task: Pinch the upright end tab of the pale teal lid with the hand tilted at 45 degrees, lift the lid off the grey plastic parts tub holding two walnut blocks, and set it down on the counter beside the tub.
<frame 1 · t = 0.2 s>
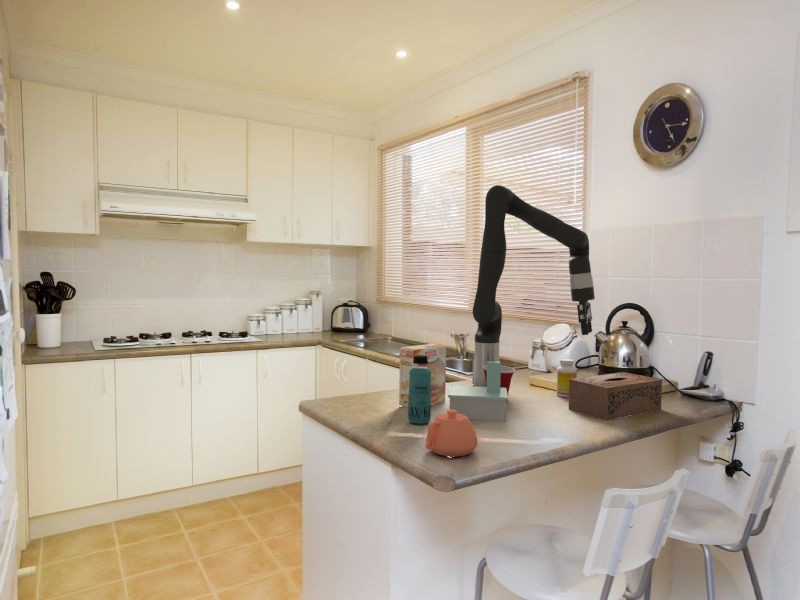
hand: (587, 333, 181), 23 cm above the worktop, tool pointing down, fingers open, 8 cm apart
coffeecake box: (422, 406, 171), on the worktop
walnut block b: (486, 413, 159), point 1 cm above the worktop, touching tub
beverage bottle: (419, 426, 149), on the worktop
supplement bottle: (566, 396, 186), on the worktop
tissue box cover: (614, 411, 168), on the worktop
plastic cup: (498, 402, 176), on the worktop
lid: (478, 393, 158), point 7 cm above the worktop, touching tub
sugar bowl: (448, 453, 127), on the worktop
walnut block a: (465, 415, 157), point 1 cm above the worktop, touching tub
tub: (477, 416, 158), on the worktop
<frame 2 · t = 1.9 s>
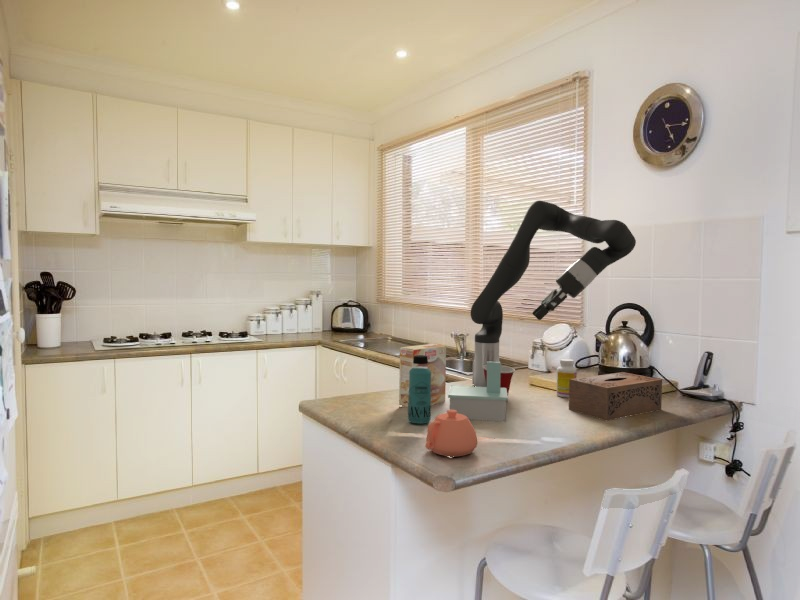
hand: (535, 316, 156), 30 cm above the worktop, tool tilted 45°, fingers open, 8 cm apart
nothing on the worktop moved.
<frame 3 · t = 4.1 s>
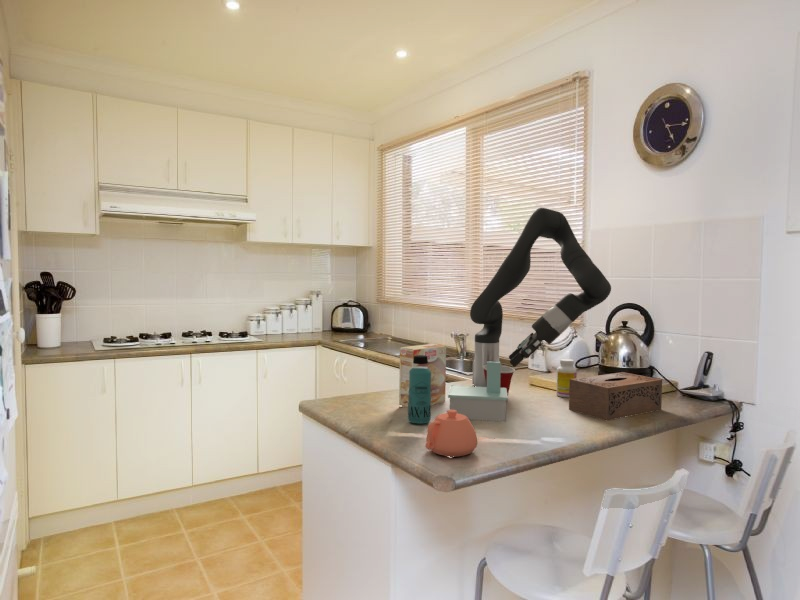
hand: (511, 362, 156), 17 cm above the worktop, tool tilted 45°, fingers open, 8 cm apart
nothing on the worktop moved.
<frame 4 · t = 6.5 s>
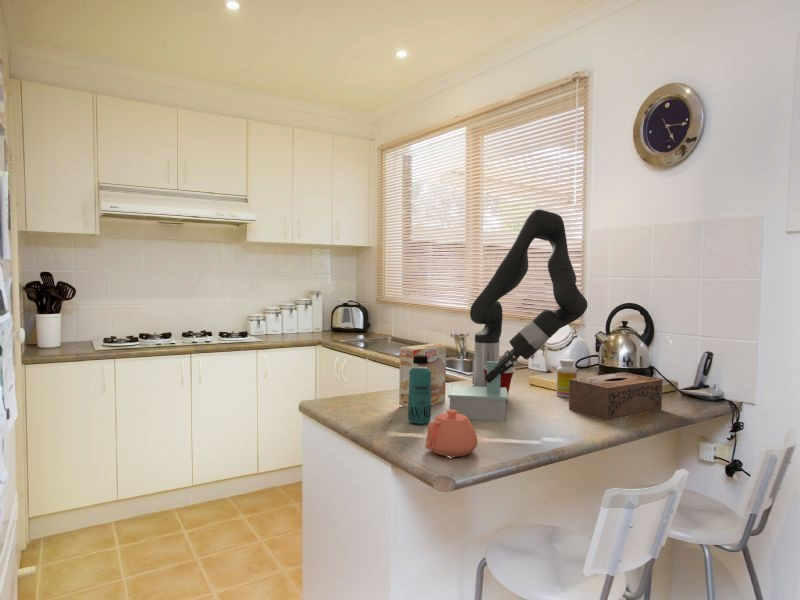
hand: (486, 379, 157), 11 cm above the worktop, tool tilted 45°, fingers closed on lid
lid: (478, 393, 158), point 7 cm above the worktop, touching gripper, tub
everything else where it was.
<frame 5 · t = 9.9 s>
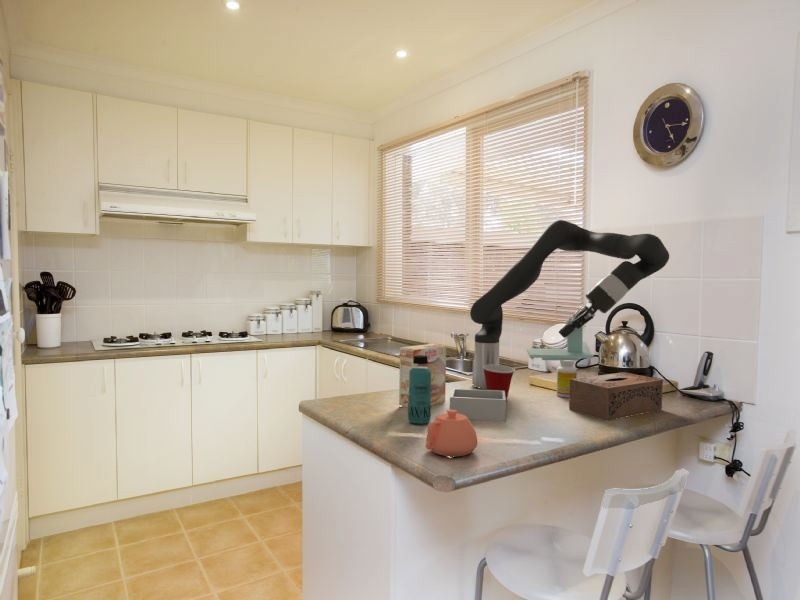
hand: (561, 335, 152), 25 cm above the worktop, tool tilted 45°, fingers closed on lid
lid: (558, 354, 152), point 20 cm above the worktop, touching gripper
everything else where it was.
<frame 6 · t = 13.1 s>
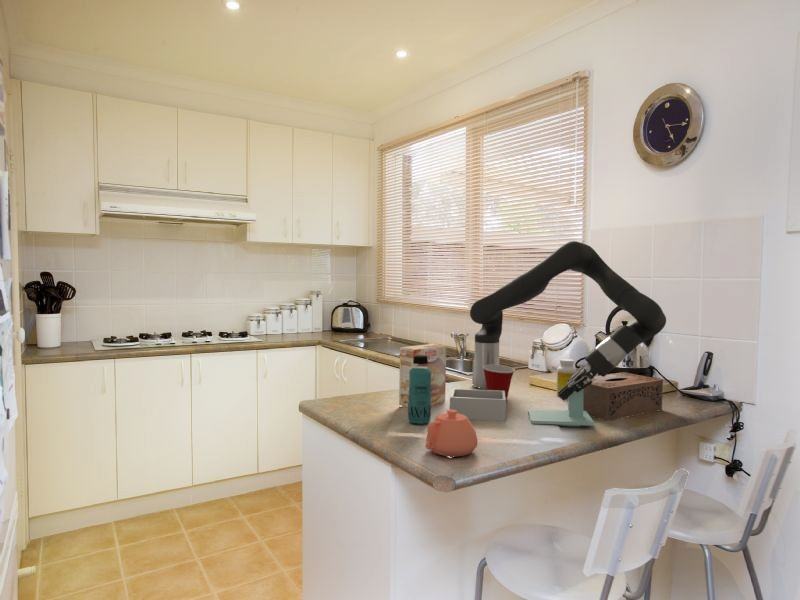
hand: (560, 397, 153), 7 cm above the worktop, tool tilted 45°, fingers closed on lid
lid: (559, 418, 153), point 1 cm above the worktop, touching gripper
everything else where it was.
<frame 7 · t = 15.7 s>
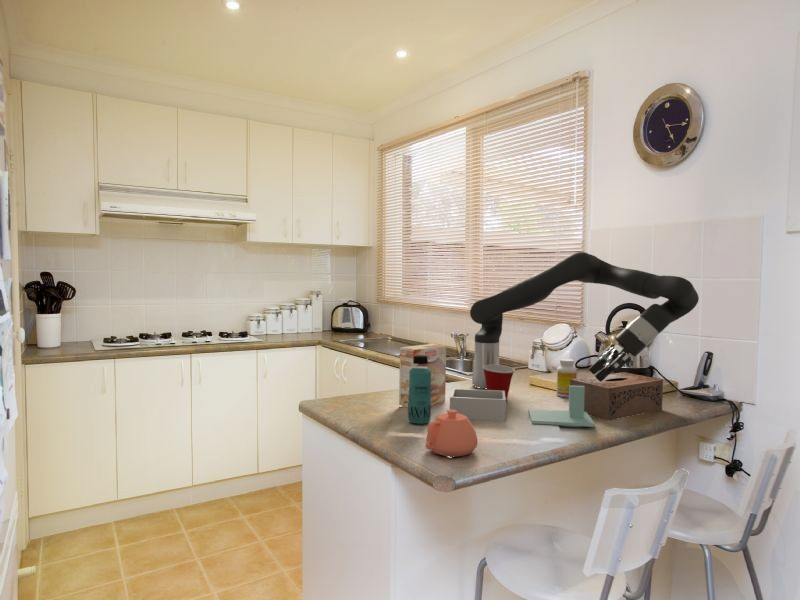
hand: (594, 375, 151), 14 cm above the worktop, tool tilted 45°, fingers open, 8 cm apart
lid: (560, 418, 153), point 1 cm above the worktop
everything else where it was.
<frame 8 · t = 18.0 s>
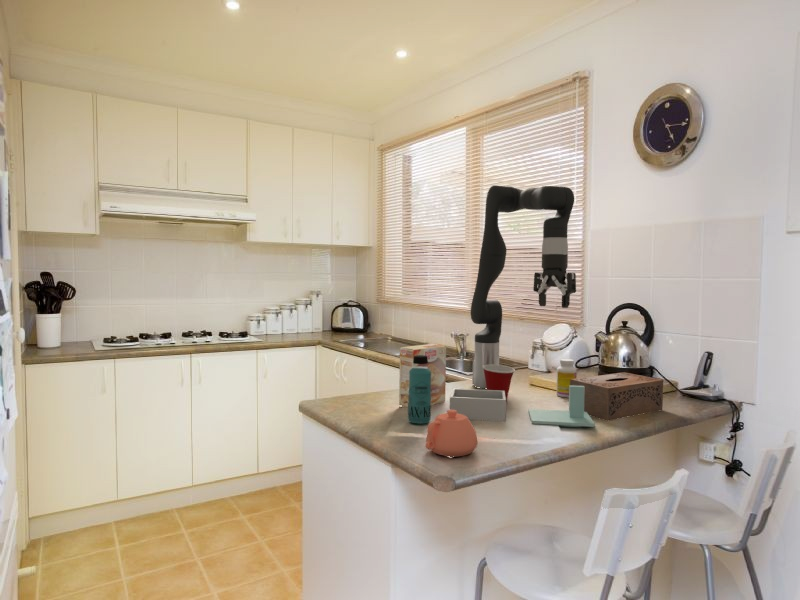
hand: (553, 306, 160), 33 cm above the worktop, tool pointing down, fingers open, 8 cm apart
nothing on the worktop moved.
at the end: lid inside the target area (2.5 cm from its centre), point 0.9 cm above the worktop; lid touching worktop; lid tilted 0° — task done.
